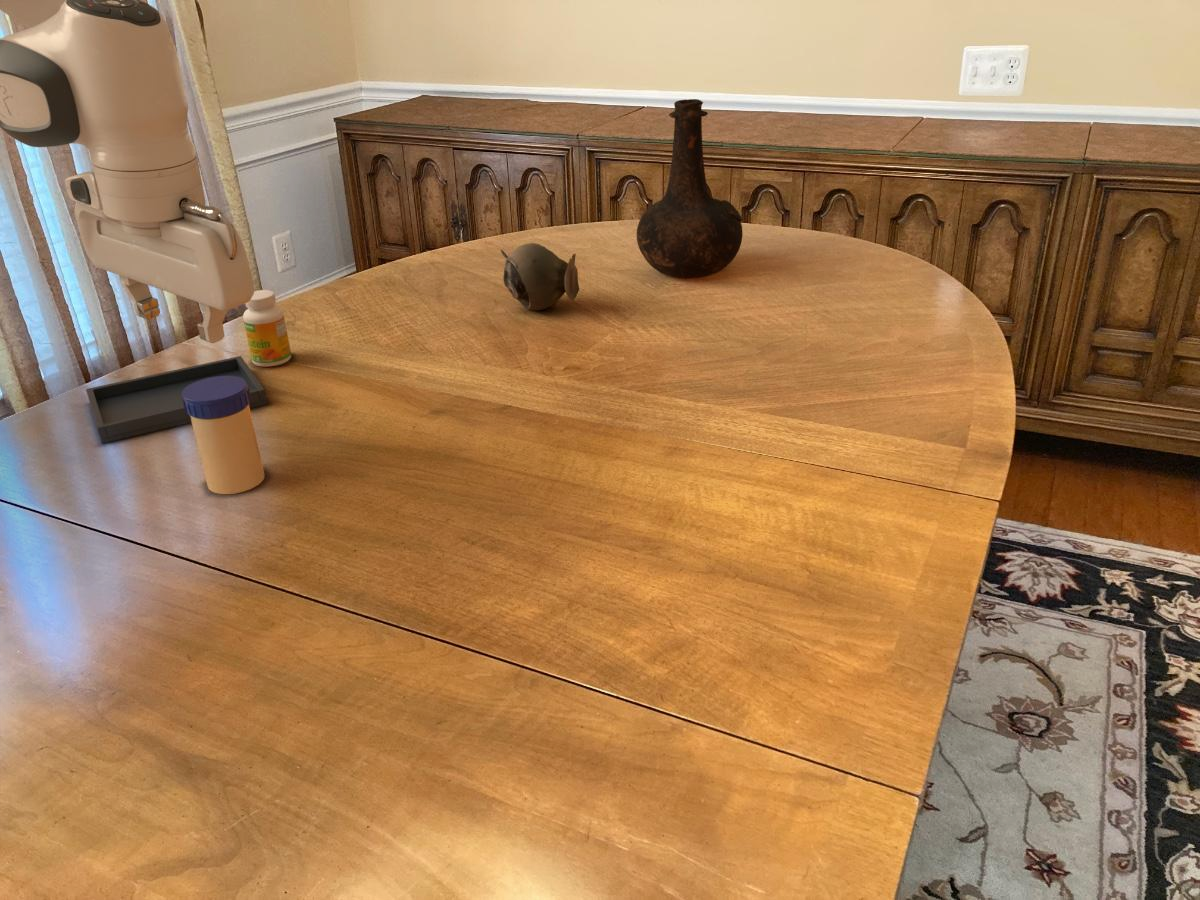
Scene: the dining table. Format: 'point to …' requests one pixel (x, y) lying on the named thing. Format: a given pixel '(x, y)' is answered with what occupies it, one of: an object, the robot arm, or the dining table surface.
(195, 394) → the lid
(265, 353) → the supplement bottle
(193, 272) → the robot arm
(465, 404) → the dining table surface
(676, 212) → the glass bottle
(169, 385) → the tray
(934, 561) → the dining table surface
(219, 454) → the jar
